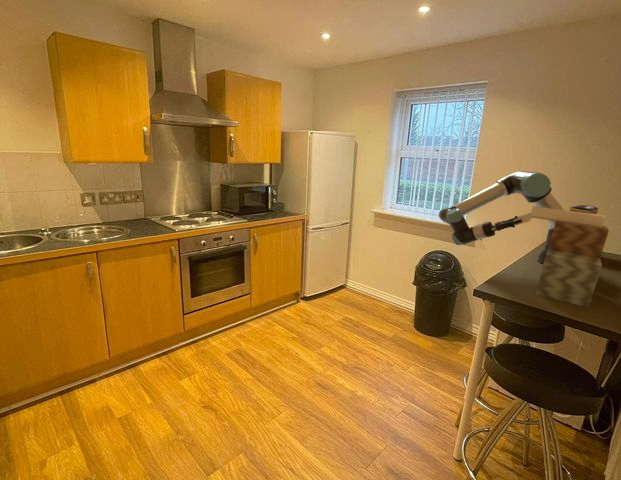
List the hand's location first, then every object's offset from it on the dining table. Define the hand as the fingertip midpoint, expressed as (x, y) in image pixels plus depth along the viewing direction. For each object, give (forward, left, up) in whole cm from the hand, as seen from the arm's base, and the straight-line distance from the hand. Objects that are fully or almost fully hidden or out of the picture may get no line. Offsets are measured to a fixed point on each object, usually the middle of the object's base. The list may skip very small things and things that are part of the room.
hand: (531, 216), depth 156 cm
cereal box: (-80, -31, -31) cm, 91 cm away
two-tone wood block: (-6, +19, -30) cm, 36 cm away
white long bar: (-8, +10, 0) cm, 12 cm away
